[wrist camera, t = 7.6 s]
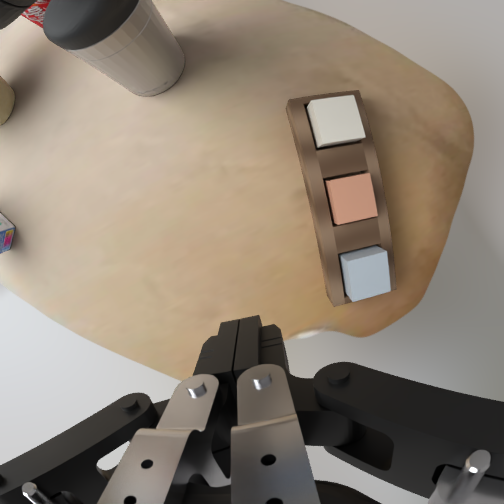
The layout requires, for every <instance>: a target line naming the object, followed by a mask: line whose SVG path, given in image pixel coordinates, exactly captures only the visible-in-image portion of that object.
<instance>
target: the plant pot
mask: <svg viewBox="0 0 504 504" xmlns="http://www.w3.org/2000/svg"><path fill="white" fill-rule="evenodd" d="M14 102H15V94H14V91H13V90H12V88H11V87H10V86H9V85H8V84H7V82H6V81H5V80H4V79H3V78H2V77H1V76H0V125H2V124H3V123H4V122H5V121H6V120H7V119H8V117H9V116H10V114H11V112H12V109H13V106H14Z"/></svg>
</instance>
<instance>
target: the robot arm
mask: <svg viewBox="0 0 504 504" xmlns="http://www.w3.org/2000/svg"><path fill="white" fill-rule="evenodd" d="M36 1H37V0H0V29H3V28H5V27H6V26H8V25H9V24H10V23H12V22H13V21H14V20H15V19H17V18H18V17H19V16H20V15H21V14H22V13H23V12H25V11H26V10H27V9H28V8H29V7H30V6H31V5H32V4H34V3H35V2H36ZM43 30H44V33H45V35H46V36H47V38H48V39H49V40H50V41H52V42H53V43H55V44H56V45H58V46H60V47H61V48H63V49H65V50H66V51H68V52H70V53H71V54H73V55H75V56H76V57H78V58H80V59H81V60H83V61H85V62H86V63H88V64H89V65H91V66H92V67H94V68H96V69H97V70H99V71H100V72H102V73H103V74H105V75H107V76H108V77H110V78H111V79H113V80H114V81H116V82H117V83H119V84H120V85H122V86H123V87H125V88H126V89H128V90H129V91H131V92H132V93H134V94H136V95H139V96H153V95H157V94H159V93H162V92H164V91H165V90H167V89H168V88H170V87H171V86H172V85H173V84H174V83H175V82H176V81H177V80H178V79H179V77H180V76H181V74H182V72H183V69H184V65H185V57H184V53H183V51H182V49H181V48H180V46H179V44H178V43H177V41H176V39H175V37H174V36H173V34H172V32H171V31H170V29H169V28H168V26H167V24H166V23H165V21H164V19H163V18H162V16H161V15H160V13H159V11H158V10H157V8H156V7H155V5H154V4H153V2H152V0H51V1H50V2H49V4H48V7H47V9H46V11H45V14H44V19H43ZM127 441H129V442H130V444H129V446H128V448H127V449H126V451H125V453H124V455H123V457H122V459H121V460H120V462H119V464H118V465H117V466H115V467H114V468H112V469H110V470H101V469H100V468H98V466H97V462H98V460H99V459H101V458H102V457H104V456H105V455H107V454H109V453H110V452H112V451H113V450H115V449H116V448H118V447H119V446H121V445H122V444H124V443H126V442H127ZM305 445H311V446H324V448H325V450H326V451H327V452H328V453H330V454H332V455H334V456H335V457H337V458H339V459H341V460H343V461H345V462H347V463H349V464H351V465H353V466H354V467H357V468H359V469H360V470H363V471H365V472H367V473H369V474H371V475H373V476H375V477H377V478H379V479H382V480H384V481H386V482H388V483H391V484H393V485H395V486H398V487H400V488H402V489H405V490H407V491H410V492H413V493H415V494H418V495H420V496H423V497H425V498H428V499H429V501H428V504H504V402H501V401H496V400H491V399H486V398H481V397H477V396H472V395H468V394H463V393H459V392H454V391H451V390H446V389H442V388H438V387H434V386H431V385H427V384H423V383H419V382H416V381H412V380H408V379H405V378H401V377H398V376H394V375H390V374H387V373H384V372H381V371H377V370H374V369H371V368H368V367H364V366H361V365H358V364H355V363H351V362H338V363H333V364H330V365H327V366H326V367H323V368H322V369H320V370H319V371H318V372H317V373H316V374H315V376H314V378H311V379H310V378H308V379H307V378H299V377H295V376H293V375H291V374H290V371H289V365H288V360H287V355H286V351H285V347H284V342H283V338H282V333H281V329H280V328H278V327H277V326H276V325H275V324H272V325H268V326H263V327H262V323H261V319H260V316H259V315H256V316H252V317H247V318H242V319H237V320H232V321H227V322H222V323H221V324H220V328H219V332H218V335H217V336H211V337H210V338H209V339H208V340H207V341H206V342H205V343H204V344H203V346H202V349H201V353H200V355H199V359H198V361H197V364H196V367H195V370H194V373H193V376H191V377H189V378H187V379H185V380H183V381H182V382H181V383H180V384H179V385H178V386H177V387H176V389H175V391H174V393H173V395H172V397H171V399H168V400H164V401H161V402H157V403H154V404H153V403H152V401H151V399H150V398H149V396H148V395H146V394H144V393H132V394H128V395H126V396H123V397H122V398H120V399H118V400H117V401H115V402H114V403H112V404H110V405H109V406H107V407H105V408H104V409H102V410H100V411H99V412H97V413H95V414H94V415H92V416H90V417H88V418H87V419H85V420H83V421H82V422H80V423H78V424H76V425H75V426H73V427H71V428H70V429H68V430H66V431H64V432H62V433H61V434H59V435H57V436H55V437H54V438H52V439H50V440H48V441H46V442H45V443H43V444H41V445H39V446H37V447H36V448H34V449H32V450H30V451H28V452H26V453H24V454H22V455H20V456H18V457H16V458H14V459H12V460H10V461H8V462H6V463H4V464H2V465H0V504H381V503H379V502H377V501H375V500H373V499H372V498H370V497H368V496H366V495H364V494H363V493H361V492H359V491H357V490H355V489H353V488H350V487H348V486H345V485H341V484H338V483H334V482H328V481H320V480H314V477H313V474H312V470H311V466H310V463H309V459H308V455H307V451H306V448H305Z"/></svg>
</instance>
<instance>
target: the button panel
mask: <svg viewBox="0 0 504 504" xmlns="http://www.w3.org/2000/svg"><path fill="white" fill-rule="evenodd" d="M348 95H354V97H355V101H356V104H357V107H358V111H359V114H360V118H361V122H362V125H363V129H364V133H365V138H363V139H360V140H358V141H355V142H349V143H343V144H337V145H331V146H325V147H320V148H317V147H316V143H315V139H314V135H313V132H312V128H311V124H310V121H309V117H308V113H307V110H306V108H307V106H308V105H309V103H310V101H311V100H317V99H324V98H332V97H340V96H348ZM286 111H287V115H288V118H289V122H290V126H291V129H292V133H293V137H294V141H295V145H296V149H297V153H298V157H299V161H300V165H301V169H302V173H303V177H304V181H305V186H306V190H307V195H308V199H309V204H310V208H311V213H312V218H313V222H314V227H315V232H316V237H317V242H318V247H319V252H320V258H321V263H322V269H323V274H324V280H325V286H326V292H327V296H328V298H329V299H330V301H331V303H332V304H333V306H334V307H335V306H339V305H343V304H346V303H350V302H352V300H351V299H350V298H349V296H348V295H347V294H346V292H345V289H344V282H343V276H342V269H341V263H340V257H339V254H342V253H346V252H350V251H355V250H359V249H363V248H367V247H371V246H375V245H376V246H378V247H380V248H382V249H384V250H385V251H387V257H388V266H389V276H390V288H391V291H392V290H396V276H395V265H394V255H393V247H392V239H391V231H390V224H389V217H388V211H387V205H386V199H385V193H384V188H383V183H382V178H381V173H380V168H379V164H378V159H377V155H376V150H375V146H374V142H373V138H372V134H371V130H370V127H369V123H368V119H367V116H366V112H365V109H364V105H363V102H362V99H361V95H360V92H359V90H355V91H346V92H337V93H329V94H321V95H314V96H308V97H302V98H296V99H290V100H289V101H288V103H287V106H286ZM364 173H370V176H371V181H372V186H373V191H374V197H375V202H376V208H377V214H378V216H375V217H370V218H366V219H361V220H357V221H353V222H348V223H344V224H340V225H337V224H336V223H334V222H332V221H331V216H330V211H329V206H328V201H327V197H326V192H325V187H324V183H323V181H326V180H331V179H336V178H341V177H346V176H351V175H357V174H364Z"/></svg>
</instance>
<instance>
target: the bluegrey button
mask: <svg viewBox="0 0 504 504" xmlns="http://www.w3.org/2000/svg"><path fill="white" fill-rule="evenodd" d="M339 257H340V263H341V269H342V276H343V282H344V289H345V292H346V294H347V295H348V296H349V298H350V299H351V300H352V302H354V301H358V300H362V299H365V298H369V297H372V296H376V295H379V294H383V293H386V292H389V291H391V288H390V276H389V266H388V257H387V251H385V250H384V249H382V248H380V247H378V246H376V245H375V246H371V247H367V248H363V249H359V250H355V251H350V252H346V253H342V254H339Z"/></svg>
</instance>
